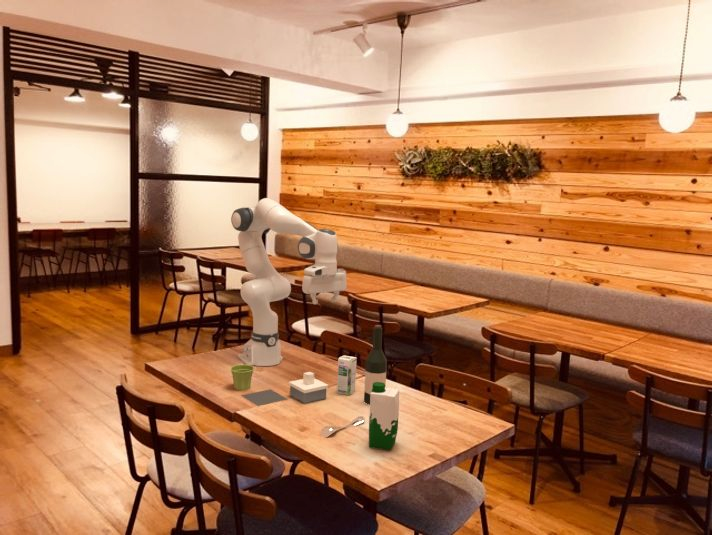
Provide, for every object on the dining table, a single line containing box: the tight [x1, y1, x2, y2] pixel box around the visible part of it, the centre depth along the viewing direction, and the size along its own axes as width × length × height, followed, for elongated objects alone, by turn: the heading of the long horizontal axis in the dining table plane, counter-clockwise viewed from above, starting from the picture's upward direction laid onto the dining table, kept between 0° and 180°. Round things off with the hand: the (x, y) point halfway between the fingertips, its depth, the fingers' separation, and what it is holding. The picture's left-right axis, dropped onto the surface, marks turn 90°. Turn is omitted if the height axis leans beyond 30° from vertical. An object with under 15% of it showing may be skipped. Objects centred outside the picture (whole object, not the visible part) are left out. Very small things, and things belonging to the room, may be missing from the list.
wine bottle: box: [363, 324, 388, 406], centre depth 230 cm, size 8×8×30 cm
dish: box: [289, 385, 328, 405], centre depth 231 cm, size 10×10×5 cm
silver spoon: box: [320, 416, 366, 438], centre depth 205 cm, size 20×4×5 cm
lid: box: [288, 371, 329, 393], centre depth 231 cm, size 11×11×5 cm
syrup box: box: [336, 354, 358, 396], centre depth 240 cm, size 6×6×14 cm
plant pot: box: [229, 364, 255, 391], centre depth 239 cm, size 9×9×9 cm
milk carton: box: [368, 382, 400, 451], centre depth 192 cm, size 9×9×20 cm
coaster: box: [241, 389, 288, 407], centre depth 230 cm, size 13×13×1 cm
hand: (324, 302), depth 246 cm, fingers open, 8 cm apart
